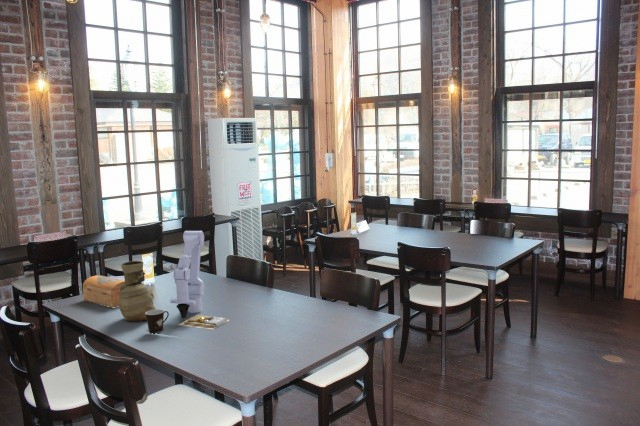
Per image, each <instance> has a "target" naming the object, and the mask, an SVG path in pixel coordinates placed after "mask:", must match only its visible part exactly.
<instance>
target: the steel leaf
mask: <svg viewBox="0 0 640 426" xmlns="http://www.w3.org/2000/svg"><path fill="white" fill-rule="evenodd" d="M211 317H212V318H211V321H209V320H206V321H204V324H212V325H216V327H217V328H218V327H220V326H222V325H223V323H224V324H225V323H226V322H225V319H226V317H218V316H211ZM221 324H222V325H221ZM219 325H220V326H219Z"/></svg>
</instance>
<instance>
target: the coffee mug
mask: <svg viewBox="0 0 640 426" xmlns="http://www.w3.org/2000/svg"><path fill="white" fill-rule="evenodd" d="M155 309H156V308H155ZM165 313H167V315H166V317H165V316H164V315H165ZM145 314H146V319H147V320H146V323H147V329H148V332H149V334H150V333H153V334H152V335H156V334H155V333H160V332H162V331H163V330H164V323H165V322H166V321H167V320H168V317H169V316H170V315H169V314H170V313H169V312H168V311H167V310H163V309H161V308H160V309H158V308H157V309H156V310H150V311H147V312H146V313H145ZM164 318H165V319H164Z"/></svg>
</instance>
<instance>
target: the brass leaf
mask: <svg viewBox="0 0 640 426" xmlns="http://www.w3.org/2000/svg"><path fill="white" fill-rule="evenodd" d="M205 316H206V315H200V314H195V315H193V316H191V317H189V318H187V319H186V320H187V321H188V322H196V323H199V322H200V323H202V322H204V321H205Z"/></svg>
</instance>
